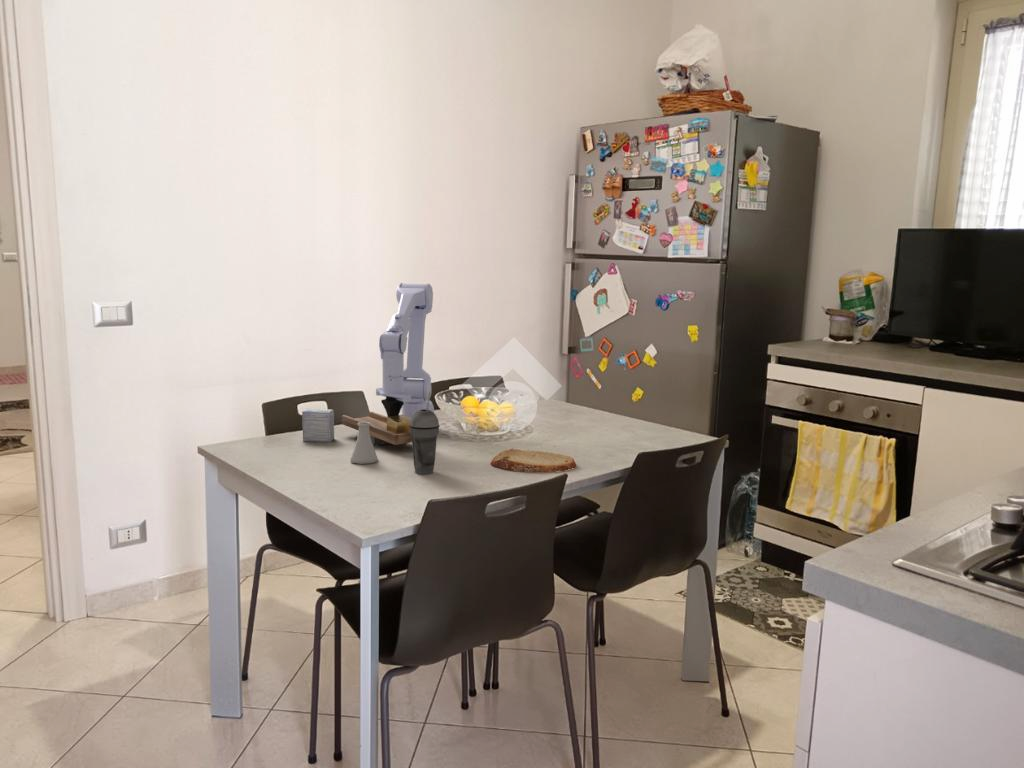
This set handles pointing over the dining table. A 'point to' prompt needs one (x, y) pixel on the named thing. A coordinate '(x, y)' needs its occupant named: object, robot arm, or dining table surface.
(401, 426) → the wood grain cube
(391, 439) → the beam
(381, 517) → the dining table surface
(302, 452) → the dining table surface
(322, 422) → the grey streaked box
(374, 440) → the fulcrum
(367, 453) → the flask
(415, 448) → the beverage cup
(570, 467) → the slice of bread
